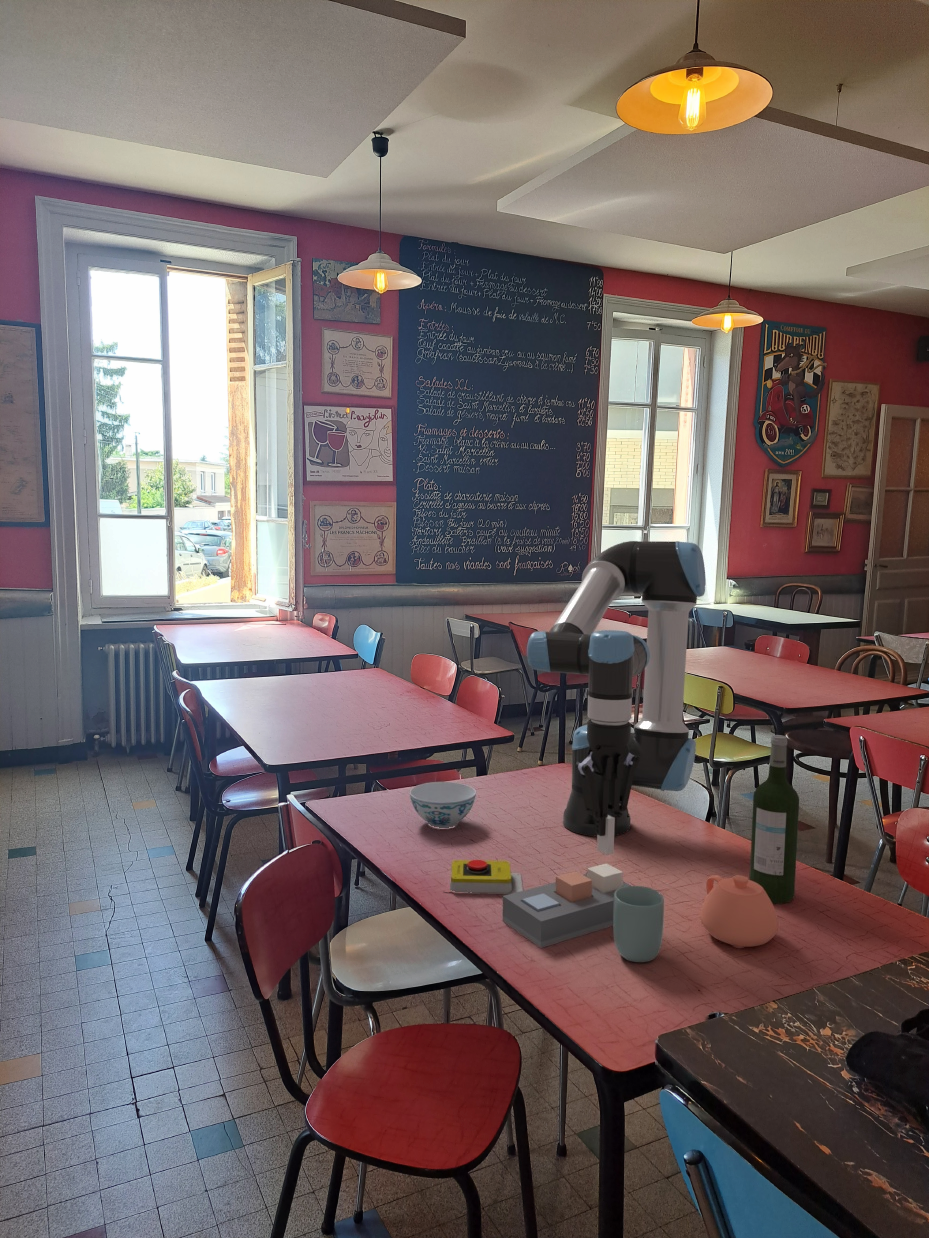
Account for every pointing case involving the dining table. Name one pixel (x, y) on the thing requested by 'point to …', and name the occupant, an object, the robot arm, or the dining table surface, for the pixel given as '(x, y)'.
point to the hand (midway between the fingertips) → (605, 851)
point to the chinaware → (442, 802)
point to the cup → (638, 922)
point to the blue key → (540, 902)
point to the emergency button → (484, 877)
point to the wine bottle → (775, 829)
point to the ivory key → (605, 878)
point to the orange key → (573, 886)
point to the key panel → (558, 915)
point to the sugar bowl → (738, 912)
